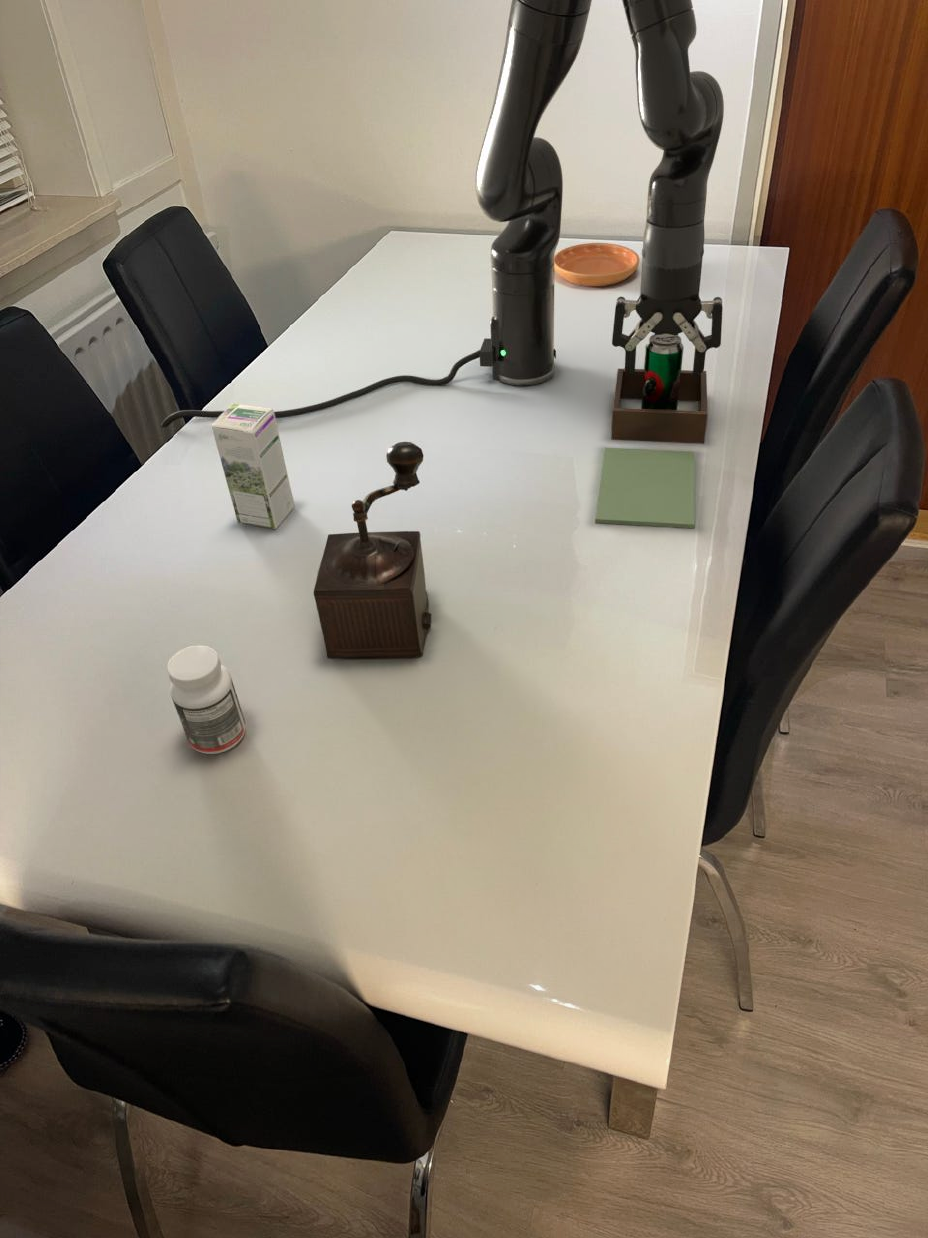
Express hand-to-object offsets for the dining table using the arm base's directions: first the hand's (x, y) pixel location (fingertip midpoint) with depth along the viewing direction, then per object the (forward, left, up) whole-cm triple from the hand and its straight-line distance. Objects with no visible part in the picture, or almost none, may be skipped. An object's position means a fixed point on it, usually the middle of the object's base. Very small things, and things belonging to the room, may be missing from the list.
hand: (663, 374), depth 129 cm
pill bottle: (-41, -66, -7) cm, 78 cm away
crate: (0, 0, -7) cm, 7 cm away
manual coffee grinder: (-29, -46, -7) cm, 55 cm away
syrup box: (-49, -29, -7) cm, 57 cm away
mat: (-1, -18, -7) cm, 19 cm away
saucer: (-13, +54, -7) cm, 56 cm away
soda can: (0, 0, -7) cm, 7 cm away
